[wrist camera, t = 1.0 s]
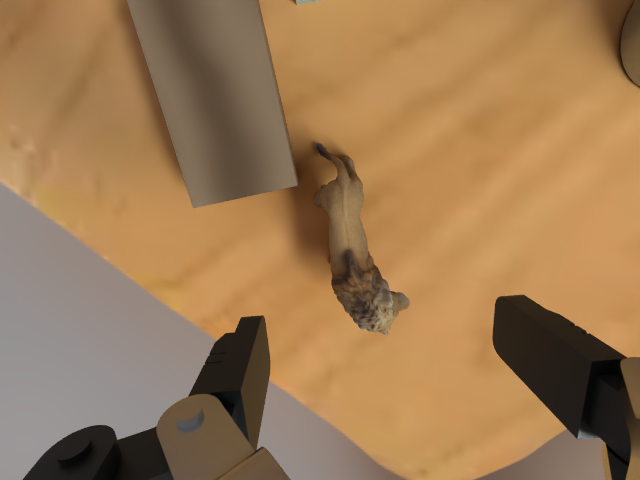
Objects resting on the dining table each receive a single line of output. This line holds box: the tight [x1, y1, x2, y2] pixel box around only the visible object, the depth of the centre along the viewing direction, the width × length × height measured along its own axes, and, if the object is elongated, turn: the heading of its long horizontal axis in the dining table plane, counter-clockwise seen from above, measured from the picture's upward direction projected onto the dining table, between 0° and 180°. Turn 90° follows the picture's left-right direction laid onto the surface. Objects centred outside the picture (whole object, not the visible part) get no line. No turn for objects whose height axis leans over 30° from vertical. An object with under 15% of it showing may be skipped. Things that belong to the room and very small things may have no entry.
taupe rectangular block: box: [127, 0, 299, 208], centre depth 24 cm, size 8×14×5 cm, turn 12°
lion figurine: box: [314, 143, 410, 335], centre depth 25 cm, size 15×5×9 cm, turn 20°
